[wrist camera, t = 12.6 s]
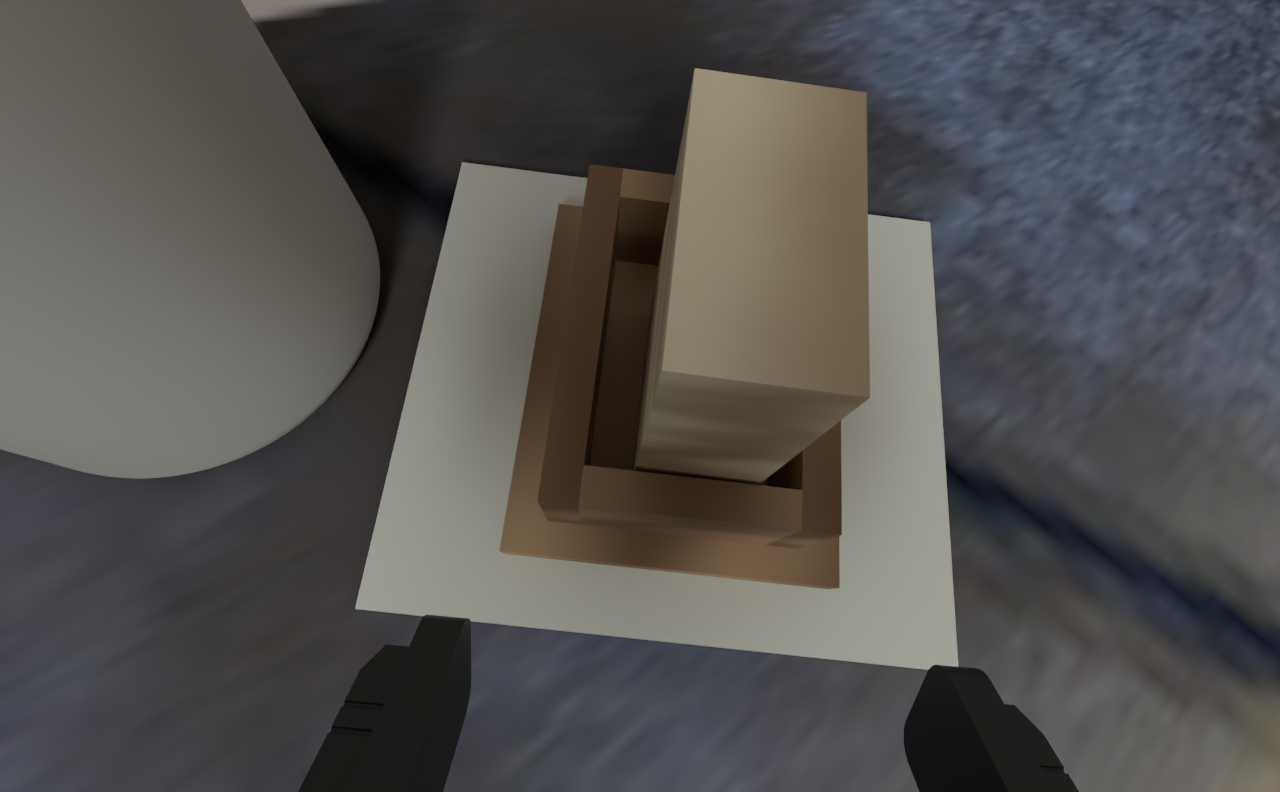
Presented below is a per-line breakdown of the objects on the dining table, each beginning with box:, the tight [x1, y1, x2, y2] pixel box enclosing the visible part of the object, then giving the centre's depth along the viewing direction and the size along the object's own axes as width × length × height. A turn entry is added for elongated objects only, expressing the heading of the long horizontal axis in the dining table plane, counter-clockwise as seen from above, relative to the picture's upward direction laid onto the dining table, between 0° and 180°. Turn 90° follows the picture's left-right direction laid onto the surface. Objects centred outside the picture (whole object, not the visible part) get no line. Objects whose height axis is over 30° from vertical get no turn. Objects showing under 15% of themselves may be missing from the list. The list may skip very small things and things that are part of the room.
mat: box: [355, 162, 958, 670], centre depth 21 cm, size 18×16×1 cm
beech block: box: [631, 68, 870, 485], centre depth 15 cm, size 3×6×10 cm, turn 174°
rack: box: [499, 164, 842, 589], centre depth 19 cm, size 10×12×4 cm
